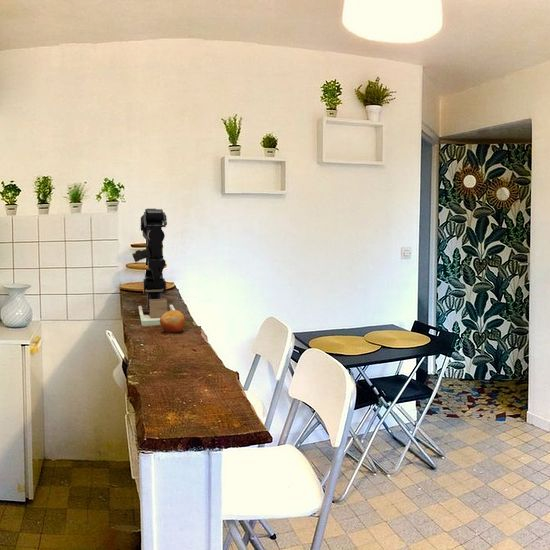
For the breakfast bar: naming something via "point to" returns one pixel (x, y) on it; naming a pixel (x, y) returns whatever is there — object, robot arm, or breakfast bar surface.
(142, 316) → the trap channel
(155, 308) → the walnut block
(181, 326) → the fruit
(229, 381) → the breakfast bar surface
